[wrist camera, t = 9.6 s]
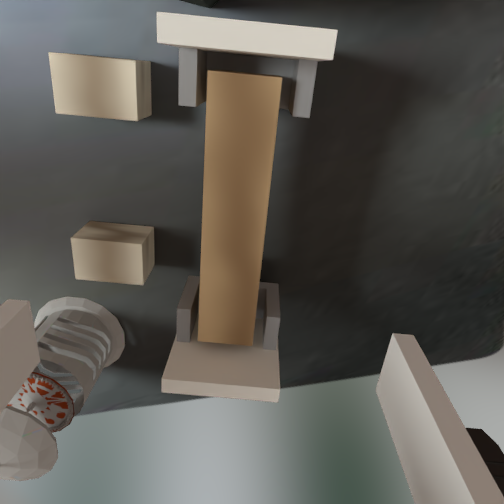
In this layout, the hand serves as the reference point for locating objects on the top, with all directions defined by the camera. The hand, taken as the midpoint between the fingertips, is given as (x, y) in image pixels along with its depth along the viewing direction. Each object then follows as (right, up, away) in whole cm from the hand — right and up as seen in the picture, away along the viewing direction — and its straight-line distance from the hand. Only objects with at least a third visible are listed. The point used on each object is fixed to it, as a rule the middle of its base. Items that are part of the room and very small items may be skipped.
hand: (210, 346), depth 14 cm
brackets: (+1, +10, +20) cm, 22 cm away
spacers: (-10, +11, +20) cm, 25 cm away
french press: (-18, -5, +28) cm, 33 cm away
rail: (+1, +7, +15) cm, 16 cm away
